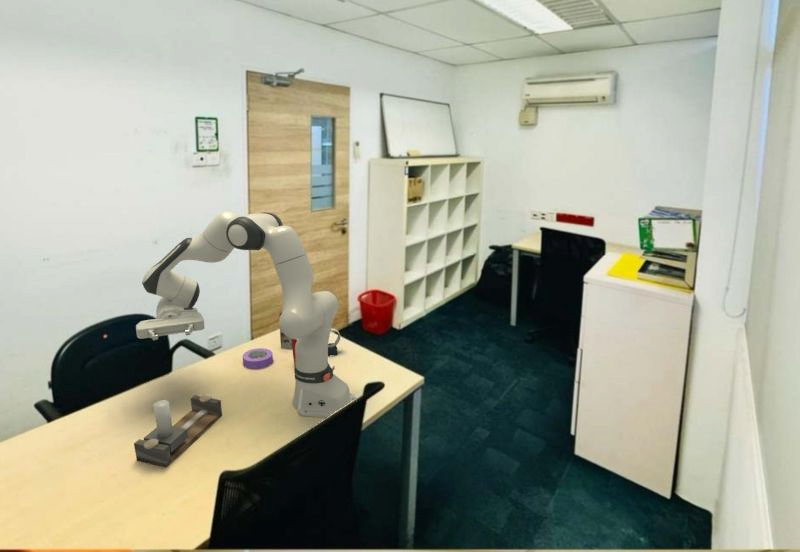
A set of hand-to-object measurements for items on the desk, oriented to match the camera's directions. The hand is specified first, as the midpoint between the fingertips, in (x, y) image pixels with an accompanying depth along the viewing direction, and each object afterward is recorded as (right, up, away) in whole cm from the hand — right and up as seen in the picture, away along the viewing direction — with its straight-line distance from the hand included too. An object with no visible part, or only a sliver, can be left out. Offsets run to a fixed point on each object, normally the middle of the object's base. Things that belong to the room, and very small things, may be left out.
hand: (171, 335), depth 148 cm
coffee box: (+24, -12, +58) cm, 64 cm away
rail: (+5, -31, -4) cm, 32 cm away
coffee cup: (+33, -18, +41) cm, 55 cm away
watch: (+43, -14, +52) cm, 69 cm away
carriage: (+4, -30, -11) cm, 32 cm away
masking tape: (+15, -17, +42) cm, 48 cm away
